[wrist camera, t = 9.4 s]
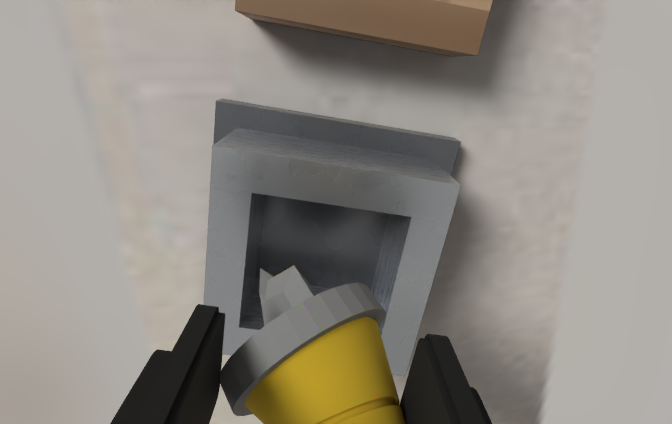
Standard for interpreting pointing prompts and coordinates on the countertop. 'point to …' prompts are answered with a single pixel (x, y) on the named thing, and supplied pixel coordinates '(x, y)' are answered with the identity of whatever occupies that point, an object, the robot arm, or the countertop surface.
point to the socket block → (384, 21)
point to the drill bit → (313, 358)
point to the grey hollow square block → (326, 214)
